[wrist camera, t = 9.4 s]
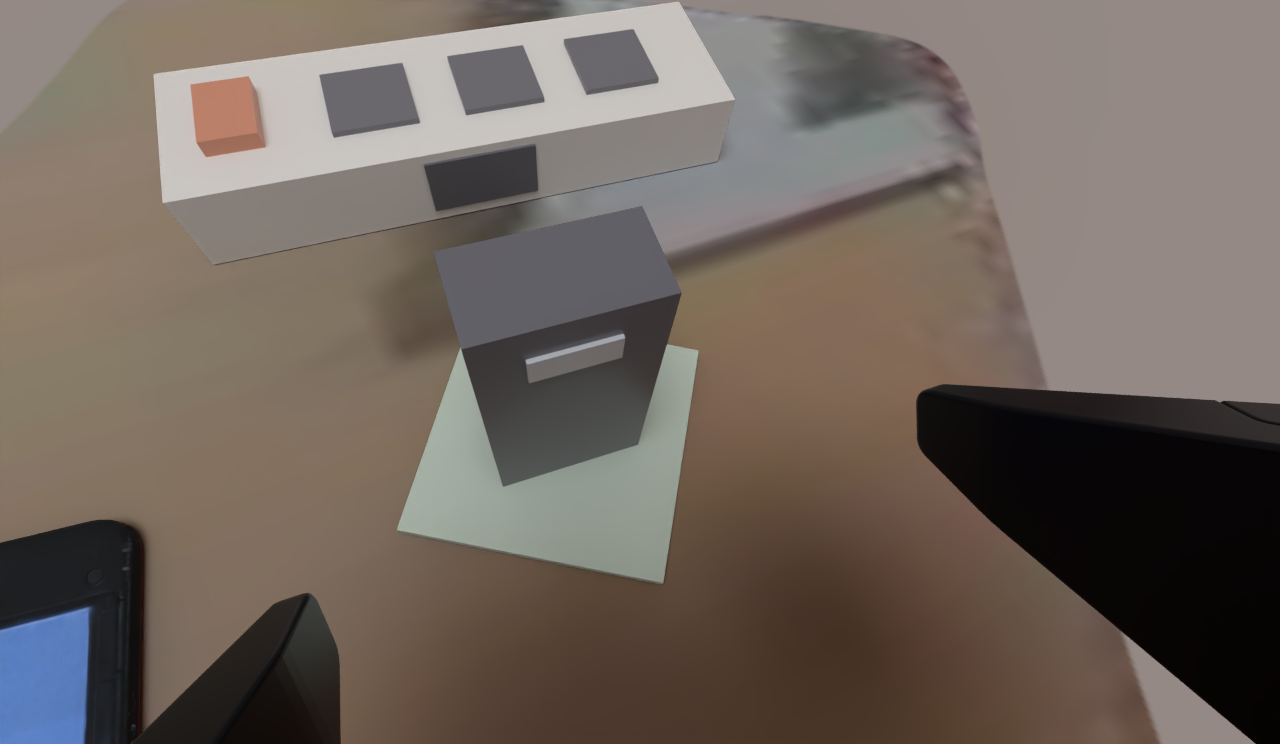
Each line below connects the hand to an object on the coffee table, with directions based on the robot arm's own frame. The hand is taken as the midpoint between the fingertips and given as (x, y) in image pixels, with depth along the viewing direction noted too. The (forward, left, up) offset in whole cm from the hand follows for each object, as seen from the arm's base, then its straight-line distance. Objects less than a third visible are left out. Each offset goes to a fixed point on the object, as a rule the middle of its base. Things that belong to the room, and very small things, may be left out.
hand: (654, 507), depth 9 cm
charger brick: (+3, -6, -13) cm, 15 cm away
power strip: (+10, -18, -14) cm, 25 cm away
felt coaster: (+3, -6, -14) cm, 15 cm away
